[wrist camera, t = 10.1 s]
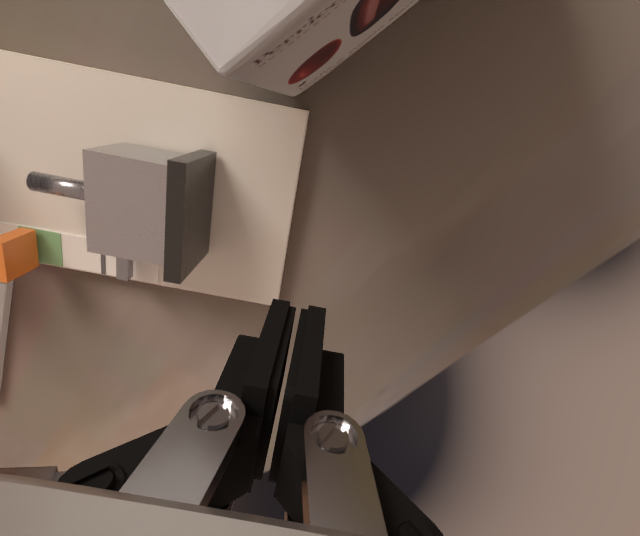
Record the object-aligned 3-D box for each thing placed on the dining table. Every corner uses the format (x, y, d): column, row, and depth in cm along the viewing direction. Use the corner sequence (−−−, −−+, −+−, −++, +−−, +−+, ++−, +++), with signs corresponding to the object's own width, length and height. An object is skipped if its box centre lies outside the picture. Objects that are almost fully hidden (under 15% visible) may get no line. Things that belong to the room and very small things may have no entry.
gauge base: (309, 110, 26) (297, 112, 18) (278, 299, 31) (259, 362, 23) (-129, 23, 25) (-334, -13, 17) (-83, 233, 30) (-225, 275, 23)
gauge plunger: (216, 152, 25) (186, 163, 20) (205, 286, 29) (178, 323, 24) (53, 120, 25) (-19, 123, 20) (63, 259, 29) (4, 292, 24)
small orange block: (35, 229, 28) (1, 243, 25) (39, 265, 29) (7, 283, 26) (21, 227, 28) (-15, 240, 25) (25, 263, 29) (-8, 280, 26)
